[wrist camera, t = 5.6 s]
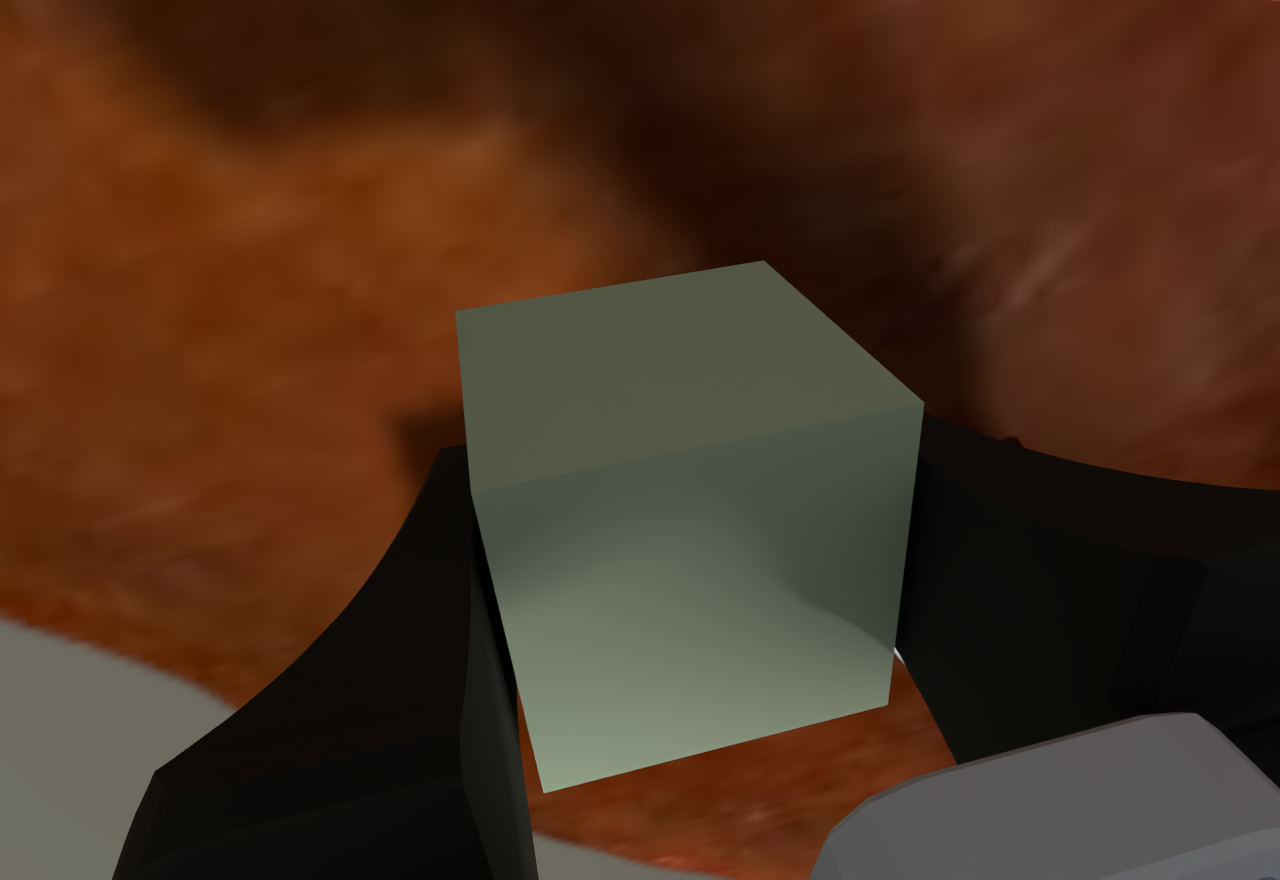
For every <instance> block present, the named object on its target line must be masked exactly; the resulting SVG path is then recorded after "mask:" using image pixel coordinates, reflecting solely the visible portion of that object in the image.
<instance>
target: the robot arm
mask: <svg viewBox="0 0 1280 880" xmlns="http://www.w3.org/2000/svg"><path fill="white" fill-rule="evenodd" d="M894 653H895V654H896V655H897V657H898V658H899V659H900V660H901V661H902V662H903V663H904V665H905V666H906V667H907V669H908V671H909V673H910V675H911V676H912V678H913V680H914V682H915V684H916V686H917V687H918V689H919V691H920V693H921V695H922V697H923V698H924V700H925V702H926V704H927V706H928V708H929V710H930V712H931V714H932V716H933V718H934V719H935V721H936V723H937V725H938V727H939V729H940V731H941V733H942V735H943V737H944V739H945V741H946V743H947V745H948V747H949V749H950V751H951V753H952V755H953V757H954V759H955V761H956V763H957V766H953V767H949V768H946V769H942V770H938V771H935V772H931V773H927V774H924V775H920V776H917V777H914V778H912V779H910V780H908V781H905V782H903V783H901V784H899V785H896V786H894V787H892V788H889V789H887V790H885V791H883V792H880V793H878V794H876V795H874V796H871V797H869V798H867V799H866V800H865V801H864V802H863V803H861V804H860V805H859V806H858V807H857V808H856V809H855V810H853V811H852V812H851V813H850V814H849V815H848V816H846V817H845V818H844V819H843V820H842V821H841V822H839V823H838V824H837V825H836V826H835V827H834V828H833V829H831V830H830V832H829V834H828V837H827V839H826V841H825V843H824V846H823V848H822V850H821V852H820V854H819V857H818V859H817V861H816V863H815V866H814V868H813V870H812V873H811V875H810V880H1280V491H1279V490H1264V489H1250V488H1236V487H1226V486H1218V485H1210V484H1202V483H1194V482H1186V481H1178V480H1170V479H1164V478H1158V477H1151V476H1145V475H1139V474H1133V473H1128V472H1123V471H1118V470H1113V469H1108V468H1103V467H1098V466H1093V465H1088V464H1084V463H1079V462H1075V461H1071V460H1066V459H1062V458H1059V457H1055V456H1051V455H1048V454H1044V453H1040V452H1037V451H1033V450H1029V449H1026V448H1022V447H1019V446H1015V445H1012V444H1009V443H1006V442H1003V441H999V440H996V439H994V438H991V437H988V436H985V435H982V434H979V433H977V432H974V431H971V430H968V429H965V428H962V427H960V426H957V425H954V424H952V423H949V422H947V421H944V420H941V419H939V418H936V417H934V416H931V415H929V414H926V413H924V412H923V418H922V426H921V434H920V443H919V451H918V459H917V467H916V475H915V484H914V492H913V500H912V508H911V517H910V525H909V533H908V541H907V549H906V558H905V566H904V574H903V582H902V591H901V599H900V607H899V615H898V624H897V632H896V640H895V648H894ZM112 880H539V879H538V872H537V865H536V858H535V851H534V844H533V837H532V830H531V823H530V816H529V809H528V802H527V795H526V788H525V781H524V773H523V766H522V759H521V752H520V741H519V729H518V711H517V683H516V676H515V672H514V668H513V664H512V660H511V656H510V652H509V648H508V643H507V639H506V635H505V631H504V627H503V623H502V619H501V614H500V610H499V606H498V602H497V598H496V594H495V590H494V586H493V581H492V577H491V573H490V569H489V565H488V561H487V557H486V552H485V548H484V544H483V540H482V536H481V532H480V528H479V524H478V519H477V515H476V511H475V507H474V503H473V499H472V495H471V487H470V475H469V464H468V452H467V444H464V445H459V446H453V447H448V448H443V449H441V450H440V451H439V453H438V454H437V455H436V457H435V459H434V462H433V465H432V467H431V469H430V472H429V474H428V476H427V479H426V481H425V483H424V485H423V487H422V489H421V491H420V493H419V495H418V497H417V499H416V501H415V503H414V505H413V507H412V509H411V511H410V512H409V514H408V516H407V518H406V520H405V522H404V523H403V525H402V527H401V529H400V531H399V532H398V534H397V536H396V537H395V539H394V540H393V542H392V543H391V545H390V547H389V548H388V550H387V551H386V553H385V554H384V556H383V558H382V559H381V561H380V562H379V564H378V565H377V567H376V568H375V570H374V571H373V573H372V574H371V575H370V577H369V578H368V580H367V581H366V582H365V584H364V585H363V586H362V588H361V589H360V590H359V592H358V593H357V594H356V596H355V597H354V598H353V599H352V601H351V602H350V603H349V604H348V605H347V607H346V608H345V609H344V610H343V612H342V613H341V614H340V615H339V616H338V617H337V619H336V620H335V621H334V622H333V623H332V624H331V625H330V626H329V627H328V628H327V629H326V630H325V631H324V632H323V633H322V634H321V635H320V636H319V637H318V638H317V639H316V640H315V641H314V642H313V643H312V644H311V645H310V646H309V647H308V649H307V650H306V651H305V652H304V653H303V654H302V655H301V656H300V657H299V658H298V659H297V660H296V661H295V662H294V663H292V664H291V665H290V666H289V667H288V668H287V669H286V670H285V671H284V672H283V673H281V674H280V675H279V676H278V677H277V678H276V679H275V680H274V681H273V682H271V683H270V684H269V685H268V686H267V687H266V688H264V689H263V690H262V691H261V692H260V693H259V694H257V695H256V696H255V697H254V698H253V699H251V700H250V701H249V702H248V703H247V704H245V705H244V706H243V707H242V708H241V709H239V710H238V711H237V712H236V713H234V714H233V715H232V716H230V717H229V718H228V719H227V720H225V721H224V722H223V723H221V724H220V725H219V726H217V727H216V728H214V729H213V730H212V731H210V733H208V734H206V735H205V736H204V737H202V738H201V739H200V740H198V741H197V742H195V743H194V744H193V745H191V746H190V747H189V748H187V749H186V750H184V751H183V752H182V753H181V754H179V755H178V756H176V757H175V758H174V759H172V760H171V761H169V762H168V763H166V764H165V765H164V766H162V767H160V768H159V769H158V770H156V771H155V772H154V774H153V776H152V779H151V781H150V784H149V786H148V788H147V790H146V792H145V794H144V797H143V799H142V801H141V803H140V805H139V807H138V809H137V811H136V814H135V816H134V819H133V821H132V824H131V826H130V829H129V832H128V835H127V837H126V840H125V842H124V845H123V849H122V851H121V854H120V857H119V860H118V863H117V866H116V870H115V872H114V875H113V878H112Z"/></svg>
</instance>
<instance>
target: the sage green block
mask: <svg viewBox="0 0 1280 880" xmlns="http://www.w3.org/2000/svg"><path fill="white" fill-rule="evenodd" d="M455 313H456V324H457V336H458V347H459V359H460V371H461V382H462V394H463V406H464V417H465V429H466V440H467V452H468V464H469V475H470V487H471V495H472V499H473V503H474V507H475V511H476V515H477V519H478V524H479V528H480V532H481V536H482V540H483V544H484V548H485V552H486V557H487V561H488V565H489V569H490V573H491V577H492V581H493V586H494V590H495V594H496V598H497V602H498V606H499V610H500V614H501V619H502V623H503V627H504V631H505V635H506V639H507V643H508V648H509V652H510V656H511V660H512V664H513V668H514V672H515V676H516V681H517V685H518V689H519V693H520V697H521V701H522V705H523V710H524V714H525V718H526V722H527V726H528V730H529V734H530V738H531V743H532V747H533V751H534V755H535V759H536V763H537V767H538V771H539V776H540V780H541V784H542V788H543V792H544V793H547V792H551V791H555V790H558V789H562V788H566V787H570V786H574V785H578V784H582V783H586V782H589V781H593V780H597V779H601V778H605V777H609V776H613V775H617V774H621V773H624V772H628V771H632V770H636V769H640V768H644V767H648V766H652V765H656V764H659V763H663V762H667V761H671V760H675V759H679V758H683V757H687V756H691V755H694V754H698V753H702V752H706V751H710V750H714V749H718V748H722V747H725V746H729V745H733V744H737V743H741V742H745V741H749V740H753V739H757V738H760V737H764V736H768V735H772V734H776V733H780V732H784V731H788V730H792V729H795V728H799V727H803V726H807V725H811V724H815V723H819V722H823V721H826V720H830V719H834V718H838V717H842V716H846V715H850V714H854V713H858V712H861V711H865V710H869V709H873V708H877V707H881V706H885V705H888V698H889V689H890V681H891V673H892V665H893V656H894V648H895V640H896V632H897V624H898V615H899V607H900V599H901V591H902V582H903V574H904V566H905V558H906V549H907V541H908V533H909V525H910V517H911V508H912V500H913V492H914V484H915V475H916V467H917V459H918V451H919V443H920V434H921V426H922V418H923V410H924V402H923V401H922V400H921V399H920V398H919V397H917V396H916V395H915V394H914V393H913V392H912V391H911V390H910V389H908V388H907V387H906V386H905V385H904V384H903V383H902V382H901V381H899V380H898V379H897V378H896V377H895V376H894V375H893V374H891V373H890V372H889V371H888V370H887V369H886V368H885V367H884V366H882V365H881V364H880V363H879V362H878V361H877V360H876V359H875V358H873V357H872V356H871V355H870V354H869V353H868V352H867V351H866V350H864V349H863V348H862V347H861V346H860V345H859V344H858V343H856V342H855V341H854V340H853V339H852V338H851V337H850V336H849V335H847V334H846V333H845V332H844V331H843V330H842V329H841V328H840V327H838V326H837V325H836V324H835V323H834V322H833V321H832V320H830V319H829V318H828V317H827V316H826V315H825V314H824V313H823V312H821V311H820V310H819V309H818V308H817V307H816V306H815V305H814V304H812V303H811V302H810V301H809V300H808V299H807V298H806V297H805V296H803V295H802V294H801V293H800V292H799V291H798V290H797V289H795V288H794V287H793V286H792V285H791V284H790V283H789V282H788V281H786V280H785V279H784V278H783V277H782V276H781V275H780V274H779V273H777V272H776V271H775V270H774V269H773V268H772V267H771V266H770V265H768V264H767V263H766V262H765V261H758V262H752V263H746V264H740V265H733V266H727V267H721V268H715V269H709V270H703V271H697V272H691V273H685V274H679V275H673V276H666V277H660V278H654V279H648V280H642V281H636V282H630V283H624V284H618V285H612V286H605V287H599V288H593V289H587V290H581V291H575V292H569V293H563V294H557V295H551V296H545V297H538V298H532V299H526V300H520V301H514V302H508V303H502V304H496V305H490V306H484V307H478V308H471V309H465V310H459V311H455Z"/></svg>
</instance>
